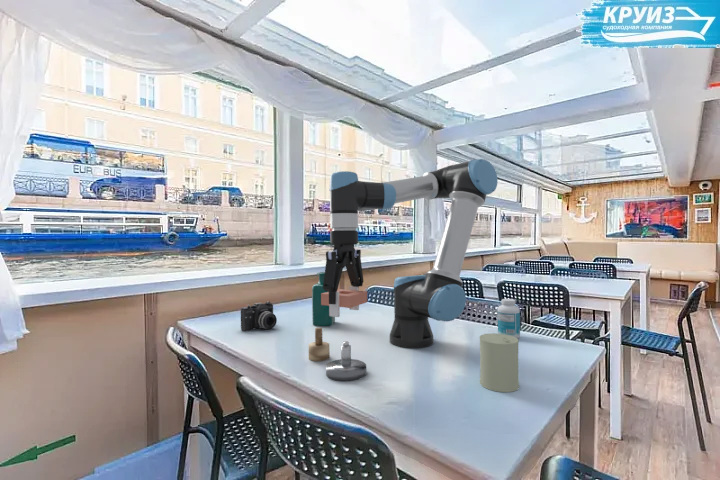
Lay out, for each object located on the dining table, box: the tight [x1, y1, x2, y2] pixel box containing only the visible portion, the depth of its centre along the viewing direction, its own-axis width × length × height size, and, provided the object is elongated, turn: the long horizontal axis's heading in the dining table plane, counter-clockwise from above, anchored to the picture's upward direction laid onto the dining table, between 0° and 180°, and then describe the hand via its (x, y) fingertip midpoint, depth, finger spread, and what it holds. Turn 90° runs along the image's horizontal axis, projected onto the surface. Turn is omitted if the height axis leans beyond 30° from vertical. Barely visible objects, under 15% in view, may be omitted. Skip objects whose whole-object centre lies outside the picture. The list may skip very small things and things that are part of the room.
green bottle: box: [311, 271, 336, 327], centre depth 155 cm, size 10×8×22 cm
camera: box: [240, 301, 278, 332], centre depth 149 cm, size 14×11×10 cm
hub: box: [325, 341, 367, 382], centre depth 100 cm, size 11×11×8 cm
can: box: [479, 333, 520, 393], centre depth 91 cm, size 9×9×12 cm
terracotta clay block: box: [321, 288, 368, 309], centre depth 99 cm, size 9×9×3 cm
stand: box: [307, 327, 331, 362], centre depth 112 cm, size 6×6×9 cm
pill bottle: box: [497, 298, 521, 340], centre depth 131 cm, size 8×7×14 cm
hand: (344, 312), depth 99 cm, fingers closed on terracotta clay block, 9 cm apart
